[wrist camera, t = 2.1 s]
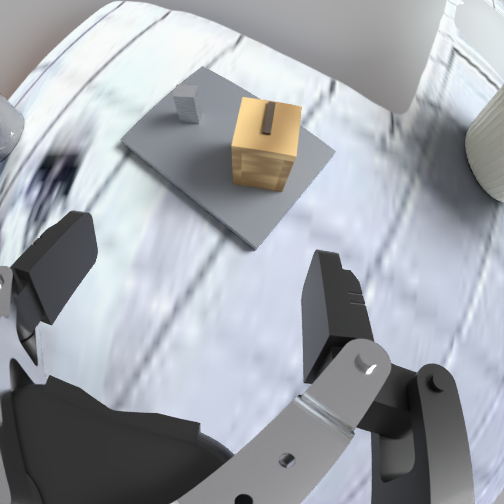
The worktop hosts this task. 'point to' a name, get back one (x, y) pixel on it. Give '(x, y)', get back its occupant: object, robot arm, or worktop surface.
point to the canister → (488, 147)
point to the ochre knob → (265, 143)
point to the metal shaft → (188, 103)
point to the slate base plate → (220, 158)
